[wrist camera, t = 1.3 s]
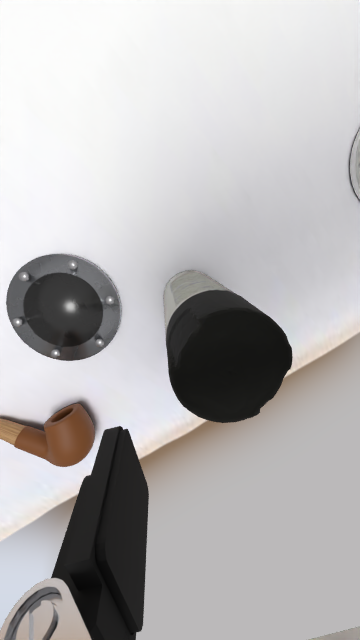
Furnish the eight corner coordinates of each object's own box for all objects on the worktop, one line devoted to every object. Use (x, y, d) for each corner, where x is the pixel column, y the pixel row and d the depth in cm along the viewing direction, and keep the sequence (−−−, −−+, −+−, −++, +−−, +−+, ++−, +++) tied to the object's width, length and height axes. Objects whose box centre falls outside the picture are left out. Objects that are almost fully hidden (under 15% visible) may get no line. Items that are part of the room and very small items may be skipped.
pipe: (-48, 423, 35) (-88, 458, 29) (90, 394, 35) (77, 423, 30) (-24, 465, 37) (-58, 505, 31) (105, 437, 38) (95, 472, 32)
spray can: (153, 306, 32) (142, 398, 13) (180, 258, 31) (213, 282, 12) (198, 330, 33) (249, 446, 14) (226, 285, 32) (324, 347, 13)
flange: (102, 242, 30) (99, 242, 28) (133, 344, 33) (132, 348, 32) (-8, 268, 29) (-16, 269, 28) (36, 367, 33) (31, 372, 32)
